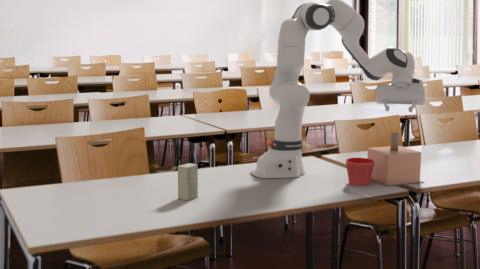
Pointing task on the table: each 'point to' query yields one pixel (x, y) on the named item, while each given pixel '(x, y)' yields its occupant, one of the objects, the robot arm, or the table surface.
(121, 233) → the table surface
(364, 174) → the flower pot
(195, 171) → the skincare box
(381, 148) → the box with top peg
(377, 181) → the mat
